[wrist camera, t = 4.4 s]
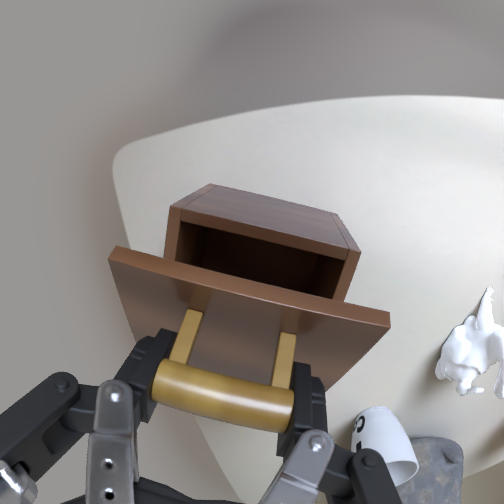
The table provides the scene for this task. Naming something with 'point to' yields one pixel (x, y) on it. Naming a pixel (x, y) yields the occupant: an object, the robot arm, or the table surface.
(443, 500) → the vessel
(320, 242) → the chest
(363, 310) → the lid
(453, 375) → the rabbit figurine
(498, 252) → the table surface
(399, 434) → the cup
